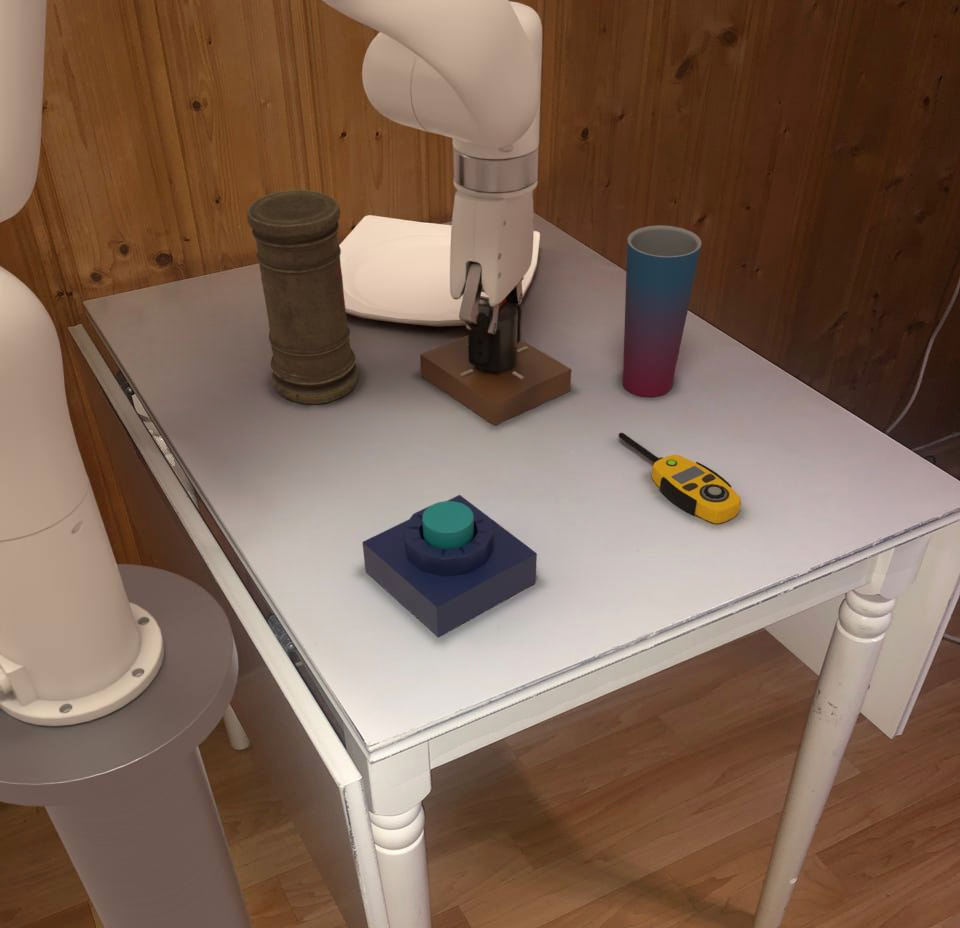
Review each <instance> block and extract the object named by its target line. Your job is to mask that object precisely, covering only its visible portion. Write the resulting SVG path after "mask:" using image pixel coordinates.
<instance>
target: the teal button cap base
mask: <svg viewBox="0 0 960 928" xmlns="http://www.w3.org/2000/svg"><path fill="white" fill-rule="evenodd" d="M447 501H454V502H459V503H462V504H464V505H466V506H467V507H469V508H470V509H471V511H472V512H473V516H474V535H473V538H472V540H471V541H470V542H469V543H468V544H466V545H464V546H462V547H459V548H449V549H443V548H439V547H435V546H431V545H429V544H428V543H427V542H426V541H425V539H424V536H423V520H422V516H423V513H424V511H425V510H426V509H427V508H428V507H429V506H427V507H425V508H422V509H420V510H419V511H416V512H414V513H413V514H412V515H411V516H410V517H409V519H406V520H405V521H403V522H401V523H398V524H396V525H394V526H392V527H390V528H388V529H386V530H384V531H382V532H380V533H378V534H376V535H374V536H372V537H370V538H368V539H365V540H363V541H362V550H363V551H362V553H363V560H364V571H365V573H366V574H368V575H369V577H370V578H372V579H373V580H375V582H376V583H377V584H379V585H380V587H382V588H383V589H384V590H385V591H386V592H387V593H389V595H391V596H392V597H393V598H394V599H395V600H396V601H397V602H398V603H400V604H401V605H402V606H403V608H405V609H407V610H408V611H409V612H410V613H411V614H412V615H413V616H414V617H415V618H416V619H417V620H419V621H420V622H421V624H423V625H424V627H426V628H427V629H429V631H430V632H432V633H433V634H434V635H435V636H436V637H438V638H440V637H441V636H443V635H445V634H447V633H449V632H451V631H452V630H454V629H456V628H458V627H460V626H461V625H463V624H465V623H466V622H469V621H470V620H472V619H474V618H476V617H478V616H479V615H481V614H483V613H485V612H486V611H488V610H490V609H492V608H494V607H495V606H497V605H499V604H501V603H503V602H505V601H506V600H508V599H510V598H512V597H514V596H515V595H518V594H519V593H521V592H523V591H524V590H526V589H527V588H530V587H532V586H533V585H536V581H537V563H538V561H537V560H538V559H537V557H538V553H537V552H536V551H534V550H533V549H532V548H531V547H529V546H528V545H526V544H525V543H524V542H523V541H522V540H520V539H518V537H516V536H515V535H513V534H512V533H511V532H509V530H507V529H506V528H504V527H503V526H501V524H499V523H498V522H497V521H495V520H494V519H493V518H492V517H490V516H489V515H487V514H486V513H484V512H483V511H482V510H481V509H479V507H477V506H475V505H474V504H472V502H470V501H469V500H468V499H466V498H465V497H463V496H462V495H461V494H458V495H456V496H454V497H452V498H450V499H448V500H447Z"/></svg>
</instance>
